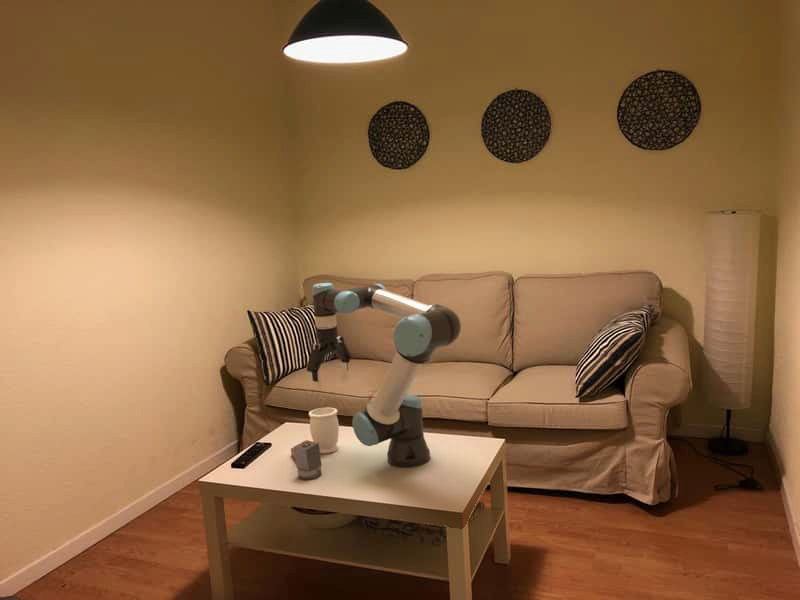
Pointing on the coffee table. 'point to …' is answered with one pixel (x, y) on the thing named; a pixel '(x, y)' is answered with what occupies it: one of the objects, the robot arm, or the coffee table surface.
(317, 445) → the grey block
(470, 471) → the coffee table surface
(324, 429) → the jar
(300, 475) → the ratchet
